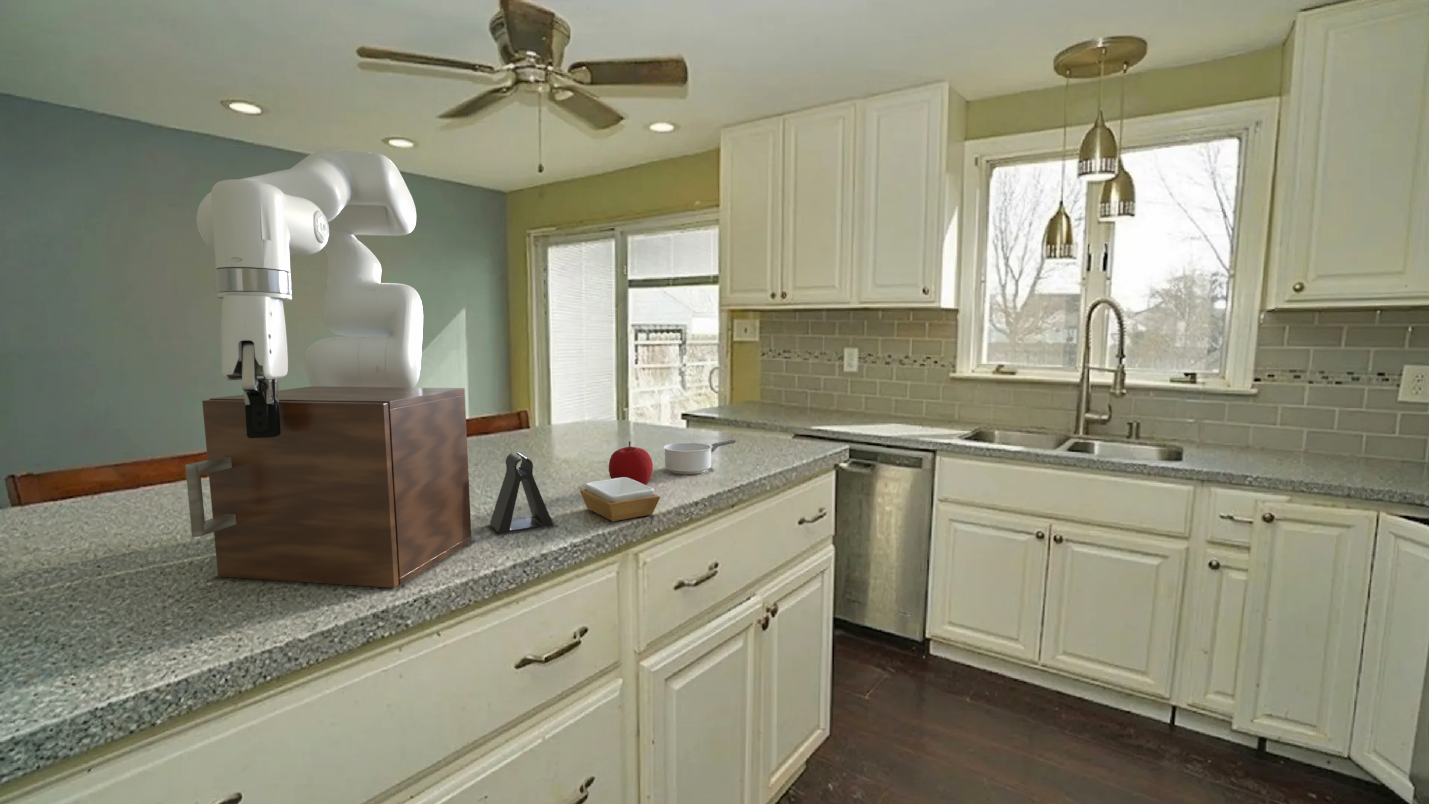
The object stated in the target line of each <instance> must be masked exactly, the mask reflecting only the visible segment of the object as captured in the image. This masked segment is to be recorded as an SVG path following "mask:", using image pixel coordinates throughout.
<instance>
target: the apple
mask: <svg viewBox="0 0 1429 804" xmlns="http://www.w3.org/2000/svg"><path fill="white" fill-rule="evenodd" d="M653 471H654V464H653V460H652V457H651V455H650V454H649V452H648V451H647V450H645V449H644V448H641V447H636V446H631V441H628V446H625V447H621V448H619V449H617V450H615V451H613V453H611V455H610V458H609V461H608V474H609V478H610V479H614V478H621V477H627V478H630V479H632V480H635V481H637V482H640V483H642V484H644V485H646V486H648V484H649V483H650V481H651V479H652V476H653Z"/></svg>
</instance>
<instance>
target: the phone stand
mask: <svg viewBox="0 0 1429 804" xmlns="http://www.w3.org/2000/svg"><path fill="white" fill-rule="evenodd" d="M519 462H521V463H520V465H519V466H518V468H517V465H518V464H519ZM505 467H506V470H505V475H504V477H503V481H502V484H501V487H500V490H499V493H498V496H497V500H496V503H495V506H494V509H493V512H492V516H491V518H490V521H489V525H490V527H492V529H494V531H496V533H497V534H498V535H502V534H508V533H509V534H510V533H515V532H520V531H521V532H522V531H526V530H528V531H529V530H533V529H534V530H535V529H540V528H547V527H553V525H554V523H553V521H552V518H551V515H550V513H549V511H548V509H547V506H546V503H545V501H544V499H543V497H542V494H541V492H540V490H539V487H538V484H537V483H536V479H535V478H534V473H533V471H534V464H533V461H532V459H529V458H528V457H526V456H525V455H523V454H522V453H520V452H516V454H514V453H513V452H511V453H509V454H508V455H507V456H506V458H505ZM521 485H522V488H523V491H524V494H525V498H526V501H527V503H528V507H529V510H530V513H531V516H530V517H523V518H517V519H513V516H514V512H515V507H516V503H517V499H518V495H519V489H520V486H521Z"/></svg>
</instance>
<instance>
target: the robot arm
mask: <svg viewBox="0 0 1429 804" xmlns="http://www.w3.org/2000/svg"><path fill="white" fill-rule="evenodd" d="M199 203H200V204H199V206H198V208H197V211H196V227H197V230H198V232H199V235H200V237H201V238H202V240H203V241H204V242H205V244H206V245H207V246H209V248H211V249H213V250H214V261H215V263H214V264H215V277H216V278H215V279H216V281H215V282H216V293H217V295H216V296H217V299H221V300H222V303H221V304H222V305H221V320H220V322H221V323H220V345H221V346H220V348H221V349H220V351H221V353H220V354H221V355H220V356H221V357H220V358H221V375H222V377H223V378H224V379H225V380H227V381H241V389H242V392H243V395H244V400H245V405H246V406H245V414H246V430H247V437H248V438H268V437H276V436H279V435H280V433H281V431H280V414H279V404H278V390H279V379H283V378H285V377H286V376H287V375H288V370H289V352H288V339H287V338H288V336H287V327H286V315H285V307H284V302H290V301H293V289H292V274H291V260H290V259H291V258H290V257H291V256H309V255H313V254H316V253H319V252H320V251H321V250H323V251H324V253H325V255H326V258H327V264H328V265H327V274H326V275H327V276H326V283H325V290H324V291H325V292H324V299H323V309H322V319H323V323H324V325H325V328H326V329H327V330H328V331H330V332H331V333H332V334H335V335H338V336H330V337H325V338H320V339H318V340H316V341H314V342H313V343H311V344H310V345H309V347H307V350H306V352H305V355H304V363H305V365H304V366H305V370H306V375H307V378H308V381H309V387H312V386H313V387H401V388H415V386H417V384H418V382H419V379H420V375H421V366H422V365H421V364H422V346H423V330H424V329H423V328H424V310H423V303H422V299H421V296H420V294H419V293H418V291H417V290H416V289H415V288H414V287H412V286H411V285H408V284H405V283H394V282H381V280H382V279H381V278H382V265H381V263H380V261H379V259H378V258H377V256H376V255H375V254H374V253H373V252H372V251H371V249H369V248H368V247H367V246H366V245H365V244H364V243H362V242H361V241H360V240H359V239H357V237H356V236H383V237H384V236H387V237H389V236H390V237H401V236H406V235H408V234H410V233H412V232H413V231H414V230H415V227H416V224H417V209H416V208H417V207H416V205H415V202H414V199H413V196H412V194H411V192H410V189H409V188H408V185H407V184H406V182H405V180H404V178H403V176H402V174H401V172H400V171H399V168H397V166H396V164H395V163H394V162H393V161H392V160H391V159H390V158H389V157H387V156H386V155H384V154H382V153H379V152H372V151H371V152H369V151H349V150H318V151H315V152H312V153H310V154H308V155H307V156H306V157H304V158H303V159H301V160H300V161H299V162H298V163H296V164H294V166H292V167H290V168H289V169H283V170H276V171H273V172H268V173H264V174H259V175H254V176H248V177H244V178H243V177H242V178H237V179H223V180H220V181H217V182H216V183H215V184H214V185H213V186H212V188H211V191H210V192H208V193H207V194H206V195H205V196H204V197H203V198H202V200H201V201H200V202H199ZM259 377H261V378H259Z"/></svg>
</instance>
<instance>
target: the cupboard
mask: <svg viewBox="0 0 1429 804" xmlns="http://www.w3.org/2000/svg"><path fill="white" fill-rule="evenodd" d="M208 400H244V394H236V395H235V394H234V395H229V396H219V397H211V398H209V399H208ZM278 401H311V402H373V403H388V411H389V428H390V445H391V462H392V479H393V496H394V513H395V530H396V547H397V564H398V581H399V585H398V586H400V585H403V584H404V583H407V582H408V581H409V580H411V579H413V578H414V577H416V576H417V575H419V574H420V573H422V572H424V571H426V570H427V569H429V568H430V567H432V566H434V565H435V564H437V563H439V562H440V561H442V560H443V559H445V558H447V557H448V556H450V555H452V554H453V553H455V552H456V551H458V550H460V549H461V548H463V547H464V546H466V545H468V544H470V543H471V542H472V518H471V499H470V497H471V496H470V476H469V455H468V452H469V451H468V434H467V432H468V431H467V412H466V411H467V409H466V389H465V388H464V387H413V388H401V387H313V386H312V387H311V386H304V387H295V388H285V389H278Z"/></svg>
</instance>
